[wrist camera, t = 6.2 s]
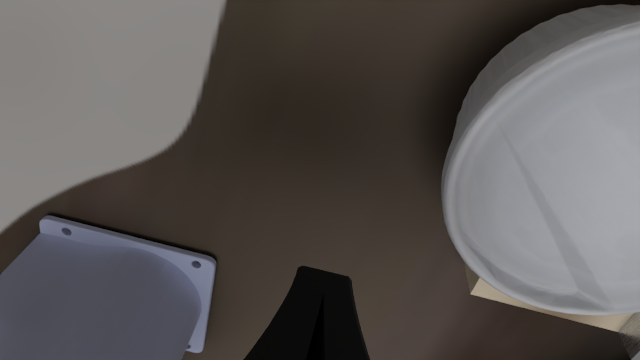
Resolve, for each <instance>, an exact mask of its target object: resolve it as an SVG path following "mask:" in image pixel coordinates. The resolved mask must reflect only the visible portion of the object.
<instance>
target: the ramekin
mask: <svg viewBox="0 0 640 360" xmlns="http://www.w3.org/2000/svg"><path fill="white" fill-rule="evenodd" d="M441 200H442V209H443V215H444V221H445V224H446V227H447V231H448V234H449V236H450V238H451V241H452V242H453V244H454V246H455V247H456V250H457V251H458V253H459V254H460V256H461V257H462V259H463V260H464V262H465V263H466V264H467V265H468V266H469V268H470V269H471V270H472V271H474V272H475V273H476V274H477V275H478V276H479V277H480V278H481V279H482V280H483V281H485V282H486V283H488V284H489V285H490V286H492V287H493V288H495V289H496V290H498V291H500V292H502V293H504V294H505V295H507V296H509V297H512V298H514V299H516V300H519V301H521V302H524V303H526V304H529V305H532V306H536V307H539V308H543V309H547V310H551V311H556V312H561V313H567V314H577V315H620V314H630V313H638V312H640V5H634V6H632V5H624V4H617V5H599V6H595V7H589V8H582V9H578V10H576V11H573V12H570V13H565V14H561V15H558V16H556V17H554V18H552V19H550V20H548V21H546V22H543V23H540V24H538V25H536V26H535V27H534V28H532V29H531V30H529V31H527V32H525V33H523V34H521V35H520V36H518V37H517V38H516V39H515V40H514V41H512V42H511V43H509V44H508V45H506V46H505V47H504V48H503V49H502V50H501V51H500V52H499V53H498V54H497V55H496V56H495V57H493V58H492V59H491V60H490V61H489V63H488V64H487V65H486V67H485V68H484V69H483V70H482V71H481V72H480V73H479V74H478V76H477V78H476V80H475V81H474V82H473V84H472V85H471V86H470V88H469V91H468V93H467V95H466V97H465V98H464V100H463V103H462V108H461V110H460V112H459V114H458V116H457V121H456V127H455V130H454V134H453V139H452V141H451V144H450V146H449V149H448V152H447V156H446V159H445V163H444V167H443V172H442V181H441Z"/></svg>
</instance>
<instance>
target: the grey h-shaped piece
mask: <svg viewBox="0 0 640 360" xmlns="http://www.w3.org/2000/svg"><path fill="white" fill-rule="evenodd" d="M618 334H619V336H620V338H621V340H622V342H623V344H624V346H625V348H626V350H627V352H628V354H629V356H630V358H631V360H640V312H638V313H634V314H633V315H632V316H631V317H630V318H629V319H628V321H627V322H626V323H625V324H624V325H623V326H622V327H621V328H620V330H619V331H618Z"/></svg>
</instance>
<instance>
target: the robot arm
mask: <svg viewBox="0 0 640 360" xmlns="http://www.w3.org/2000/svg"><path fill="white" fill-rule="evenodd" d="M39 225H40V234H39V235H38V236H37V237H36V238H35V239H34V240H33V241H32V242H31V243H30V244H29V245H28V246H27V247H26V248H25V249H24V251H23V252H22V253H21V254H20V255H19V256H18V257H17V258H16V259H15V260H14V261H13V262H12V263H11V264H10V265H9V266H8V267H7V268H6V269H5V270H4V271H3V272H2V274H1V275H0V360H182V358H183V356H184V353H185V351H190V352H194V353H199V352H201V351H202V350H203V348H204V345H205V339H206V332H207V325H208V319H209V312H210V305H211V299H212V292H213V286H214V279H215V272H216V266H217V264H216V261H215V259H213V258H212V257H210V256H207V255H203V254H199V253H195V252H192V251H188V250H184V249H180V248H176V247H172V246H168V245H164V244H160V243H156V242H152V241H148V240H144V239H141V238H137V237H133V236H129V235H125V234H121V233H117V232H113V231H109V230H105V229H101V228H97V227H93V226H90V225H86V224H82V223H78V222H74V221H70V220H66V219H62V218H58V217H54V216H49V215H47V216H45V217H44V218H43V219H42V220H41V221H40V223H39ZM67 228H68V229H67ZM195 261H198V262H199V263H197V262H195ZM244 360H370V358H369V355H368V352H367V348H366V345H365V342H364V338H363V335H362V331H361V327H360V324H359V319H358V315H357V311H356V306H355V301H354V296H353V289H352V281H351V279H350V278H349V277H348V276H344V275H340V274H336V273H331V272H327V271H323V270H319V269H315V268H311V267H307V266H301V267H299V268H298V269H297V273H296V276H295V279H294V281H293V284H292V286H291V288H290V290H289V292H288V294H287V296H286V298H285V300H284V301H283V303H282V305H281V307H280V308H279V310H278V311H277V313H276V315H275V316H274V318H273V319H272V321H271V323H270V324H269V326H268V327H267V329H266V330H265V332H264V333H263V334H262V336H261V337H260V338H259V340H258V341H257V343H256V344H255V345H254V347H253V348H252V350H251V351H250V352H249V353H248V355H247V356H246V357H245V359H244Z"/></svg>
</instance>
